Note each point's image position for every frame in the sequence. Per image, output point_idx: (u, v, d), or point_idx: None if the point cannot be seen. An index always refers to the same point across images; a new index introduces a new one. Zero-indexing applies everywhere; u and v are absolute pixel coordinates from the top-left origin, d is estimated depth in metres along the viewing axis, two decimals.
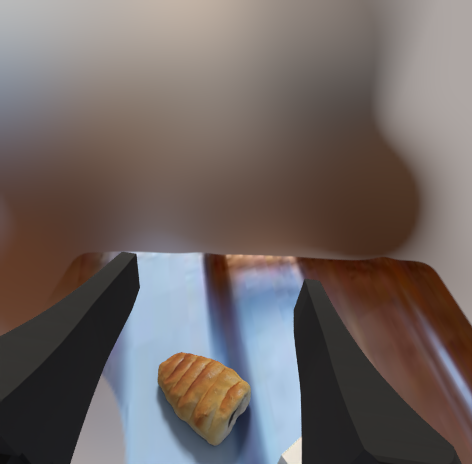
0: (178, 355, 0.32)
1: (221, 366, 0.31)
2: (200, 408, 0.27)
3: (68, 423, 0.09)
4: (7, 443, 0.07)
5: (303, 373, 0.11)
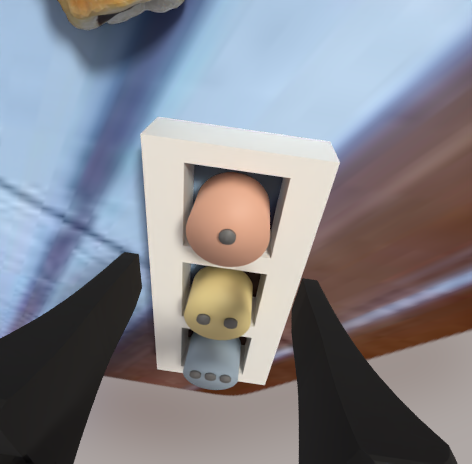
0: None
1: None
2: None
3: (71, 423, 0.09)
4: (11, 444, 0.07)
5: (301, 373, 0.11)
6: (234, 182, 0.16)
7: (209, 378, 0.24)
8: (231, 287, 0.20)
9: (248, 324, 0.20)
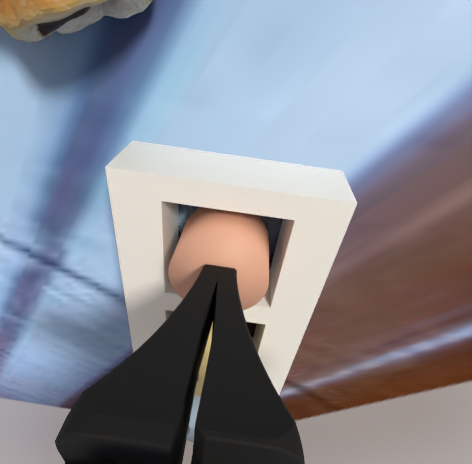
0: None
1: None
2: None
3: (183, 440, 0.09)
4: None
5: None
6: (227, 216, 0.14)
7: None
8: None
9: None
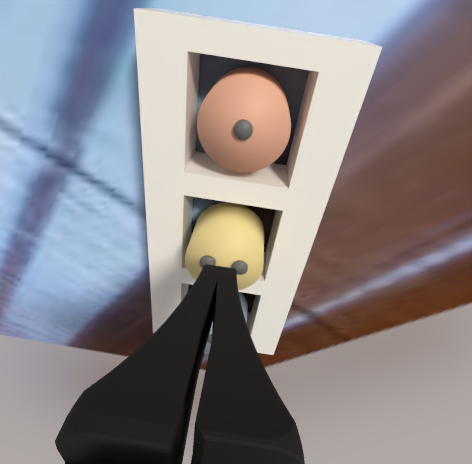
0: None
1: None
2: None
3: (183, 440, 0.09)
4: None
5: None
6: (252, 71, 0.14)
7: None
8: (241, 224, 0.17)
9: (260, 269, 0.17)
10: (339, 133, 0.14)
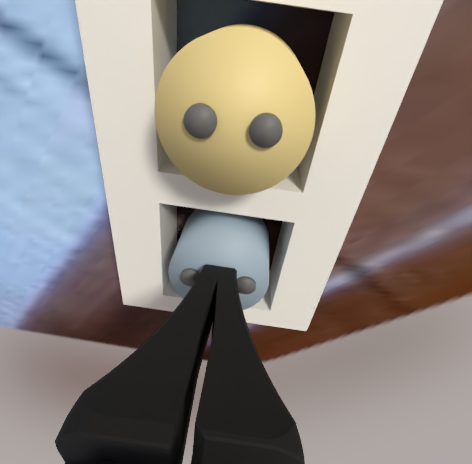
0: None
1: None
2: None
3: (183, 440, 0.09)
4: None
5: None
6: None
7: None
8: (269, 35, 0.08)
9: (308, 134, 0.08)
10: None
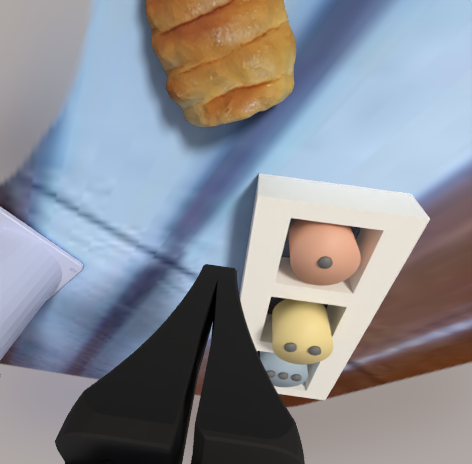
0: None
1: (261, 25, 0.13)
2: (176, 81, 0.15)
3: (183, 440, 0.09)
4: None
5: None
6: None
7: (282, 377, 0.28)
8: (316, 319, 0.22)
9: (330, 351, 0.23)
10: (395, 263, 0.20)
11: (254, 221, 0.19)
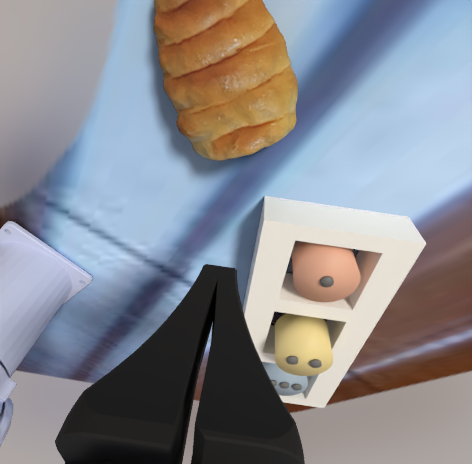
0: None
1: (265, 73, 0.14)
2: (186, 120, 0.16)
3: (183, 440, 0.09)
4: None
5: None
6: None
7: (283, 386, 0.29)
8: (317, 333, 0.23)
9: (330, 364, 0.24)
10: (393, 283, 0.21)
11: (260, 242, 0.20)
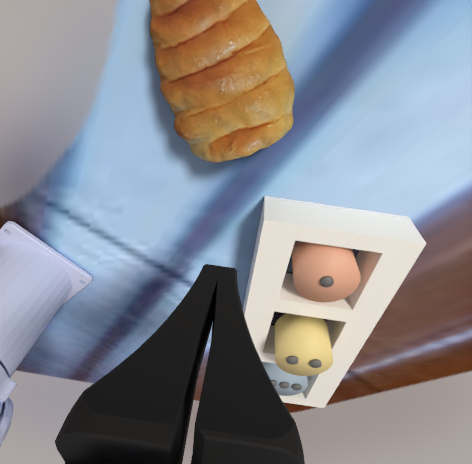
0: None
1: (261, 75, 0.14)
2: (183, 122, 0.16)
3: (183, 440, 0.09)
4: None
5: None
6: None
7: (283, 386, 0.29)
8: (317, 333, 0.23)
9: (330, 364, 0.24)
10: (393, 283, 0.21)
11: (260, 242, 0.20)
